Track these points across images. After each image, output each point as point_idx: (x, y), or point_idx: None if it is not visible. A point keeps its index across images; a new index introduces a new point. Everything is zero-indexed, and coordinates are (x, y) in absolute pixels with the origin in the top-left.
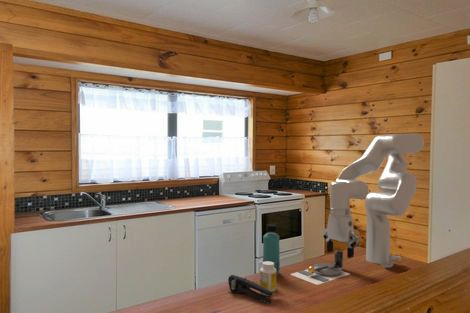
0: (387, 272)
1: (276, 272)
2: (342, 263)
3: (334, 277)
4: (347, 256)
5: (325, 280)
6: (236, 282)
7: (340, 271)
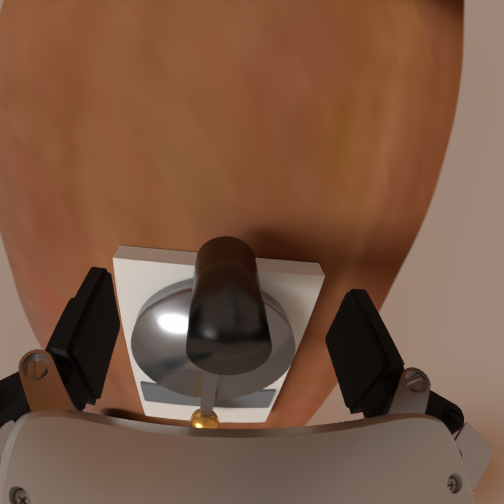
0: (439, 31)
1: None
2: (258, 275)
3: None
4: (328, 345)
5: (270, 401)
6: None
7: (294, 347)
